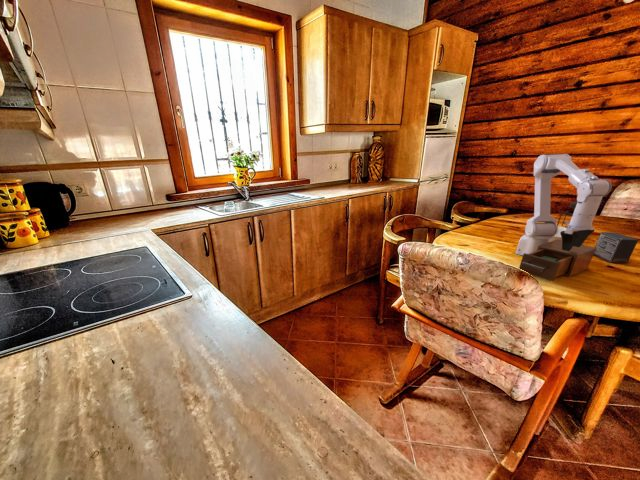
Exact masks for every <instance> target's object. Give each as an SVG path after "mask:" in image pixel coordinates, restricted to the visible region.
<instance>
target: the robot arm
mask: <svg viewBox="0 0 640 480" xmlns="http://www.w3.org/2000/svg"><path fill="white" fill-rule="evenodd" d="M572 157H573V156H571V155H569V154H568V153H561V154H541V155H539V156H538V157H537V158H536V159H535V161H534V163H533V177H534V200H533V201H534V205H533V206H534V207H533V209H534V210H533V215H534V216H532V217H530V218H529V219H528V220H526V225H525V227H524V233H525V234H523V235H522V236H521V237H520V238H519V240H518V244H517V247H516V250H515V252H514V254H515V255H519V256H522V257H523V254H524V253H527V254H529V253H532V252H535V251H537V248H538V246H539V245H542V244H545V243H548V241H549V239H551V238H552V237H553V236H555V235H556V233H557V232H558V226H559V225H558V226H557V219H556V218H555V217H553V216H552V215H551V203H552V201H551V196H552V194H551V192H552V179H553V178H554V177H556V176H558V175H559V174H561V173H563V174H565V175H566V176H568V182H569V183H570V184H571V185H573V187H575V189H576V193H577V194H576V195H577V196H576V202H577V205H576V208H575V209H574V210H573V211H574V213H572V214H573V216H571V219H570V220H569V221H570V224H568V225H567V226H568V228H566V230H565V231H561V233H560V234H561V237H562V250H565V251H570V250H571V249H572V247H573V246H575V247H580V246H581V245H584V242H585V241H586V240H587V239H588V238H589V236H591V234H593V233H594V232H595V230H596V229H595V228H596V227H595V226H593V222H594V220H595V217H596V215H597V212H598V210H599V207H600V204H601V202H602V200H603V197H606V196H607V195H609V193H610V192H612V191H611V190H612V183H611V181H610V180H609V179H601V178H599V177H598V176H597V175H594V174H593V173H592V172H590V171H591V170H590V169H589V168H579V167H578V166H577V165H576V164H575V163H574V162H573V160H572Z"/></svg>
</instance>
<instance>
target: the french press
mask: <svg viewBox="0 0 640 480" xmlns="http://www.w3.org/2000/svg"><path fill="white" fill-rule="evenodd" d="M577 202H578V201H571V202H569V204H570V205H569V208H570V209H574V210H575V208H576V205H577ZM574 210H567V211H561V212H560V215H559V217H558V221H557V222H556V224H557V226H559V223H560V221H561V218H562V216H563V214H565V215H564V217H563V221H562V223H561V226H560V227H565V228H568V224H570V221H571V220H566V217H567V216H568V217H572V216H573V213H574ZM564 225H566V226H564Z"/></svg>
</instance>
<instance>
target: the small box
mask: <svg viewBox="0 0 640 480" xmlns="http://www.w3.org/2000/svg"><path fill="white" fill-rule="evenodd" d="M638 242H639V239H637V238H634V237H631V236H628V235H626V234H622V233H619V232H611V231H609V232H608V231H601V232H600V233H599V236H598V238H597V241H596V243H595V245H594V246H593V247H594V248H596V250H595V252H594V255H593V256H595V257H597V258H600V259H602V260H604V261H606V262H608V263H614V264H615V263H617V264H619V263H620V264H628V262H629V261H630V258H631V256H632V254H633V252H634V250H635V249H636V246H637V244H638Z"/></svg>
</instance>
